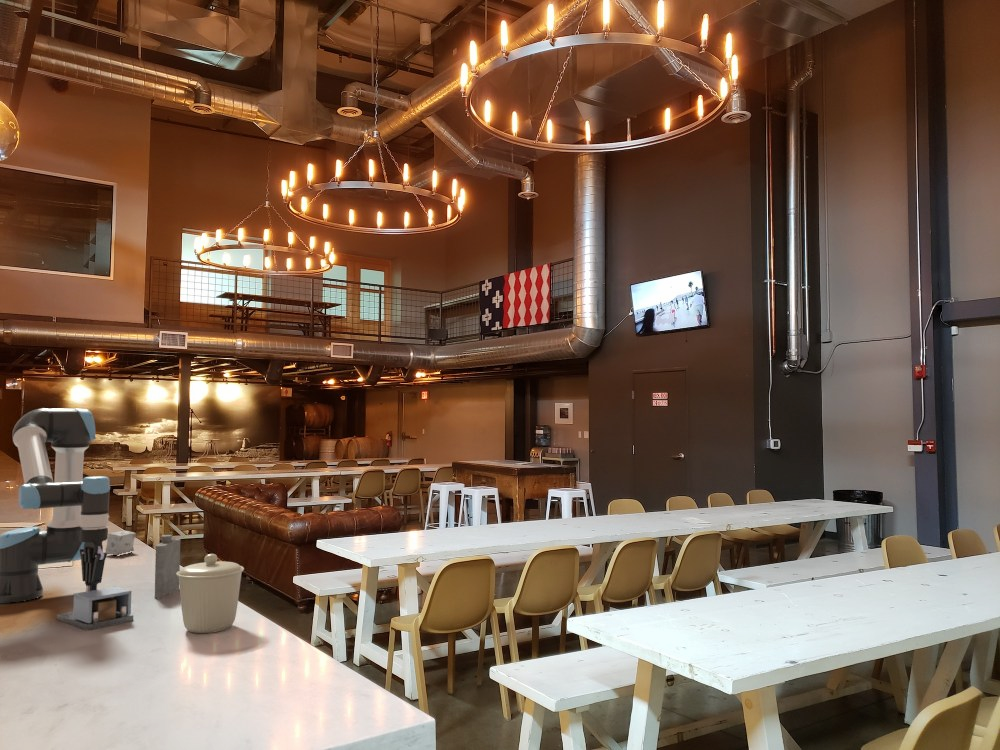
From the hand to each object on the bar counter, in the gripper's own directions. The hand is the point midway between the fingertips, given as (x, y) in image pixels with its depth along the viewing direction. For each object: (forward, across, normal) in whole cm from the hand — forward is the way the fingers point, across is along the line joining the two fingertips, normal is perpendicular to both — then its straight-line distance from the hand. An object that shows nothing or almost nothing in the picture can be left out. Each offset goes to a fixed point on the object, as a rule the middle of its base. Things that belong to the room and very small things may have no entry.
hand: (90, 606), depth 220 cm
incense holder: (+6, +106, -59) cm, 122 cm away
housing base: (+4, -3, 0) cm, 5 cm away
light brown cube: (+2, -8, 0) cm, 8 cm away
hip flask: (+4, +14, -31) cm, 34 cm away
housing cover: (+2, -7, 0) cm, 8 cm away
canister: (+3, -40, -15) cm, 43 cm away
